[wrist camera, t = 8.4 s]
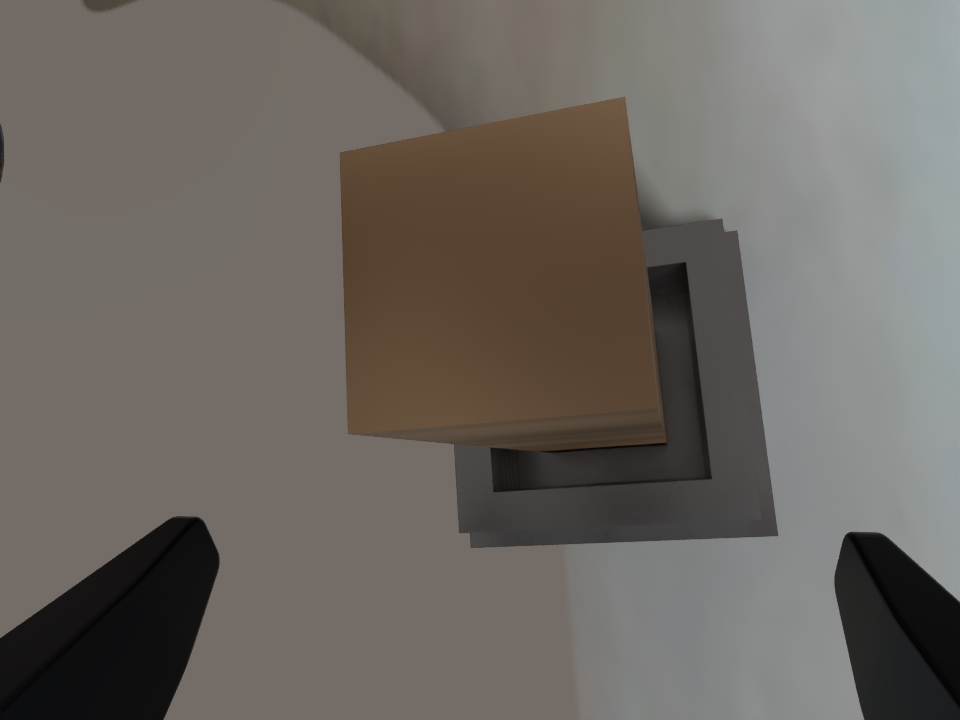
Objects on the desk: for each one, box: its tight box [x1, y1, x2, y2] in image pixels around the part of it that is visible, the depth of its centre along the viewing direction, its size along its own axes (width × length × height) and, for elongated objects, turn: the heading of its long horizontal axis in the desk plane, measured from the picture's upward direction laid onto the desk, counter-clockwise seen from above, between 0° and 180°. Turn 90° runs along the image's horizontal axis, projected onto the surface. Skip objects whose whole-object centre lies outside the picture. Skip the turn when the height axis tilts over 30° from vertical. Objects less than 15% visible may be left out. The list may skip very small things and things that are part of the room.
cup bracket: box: [454, 219, 778, 548], centre depth 20 cm, size 9×9×4 cm
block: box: [340, 97, 667, 453], centre depth 15 cm, size 4×4×14 cm
